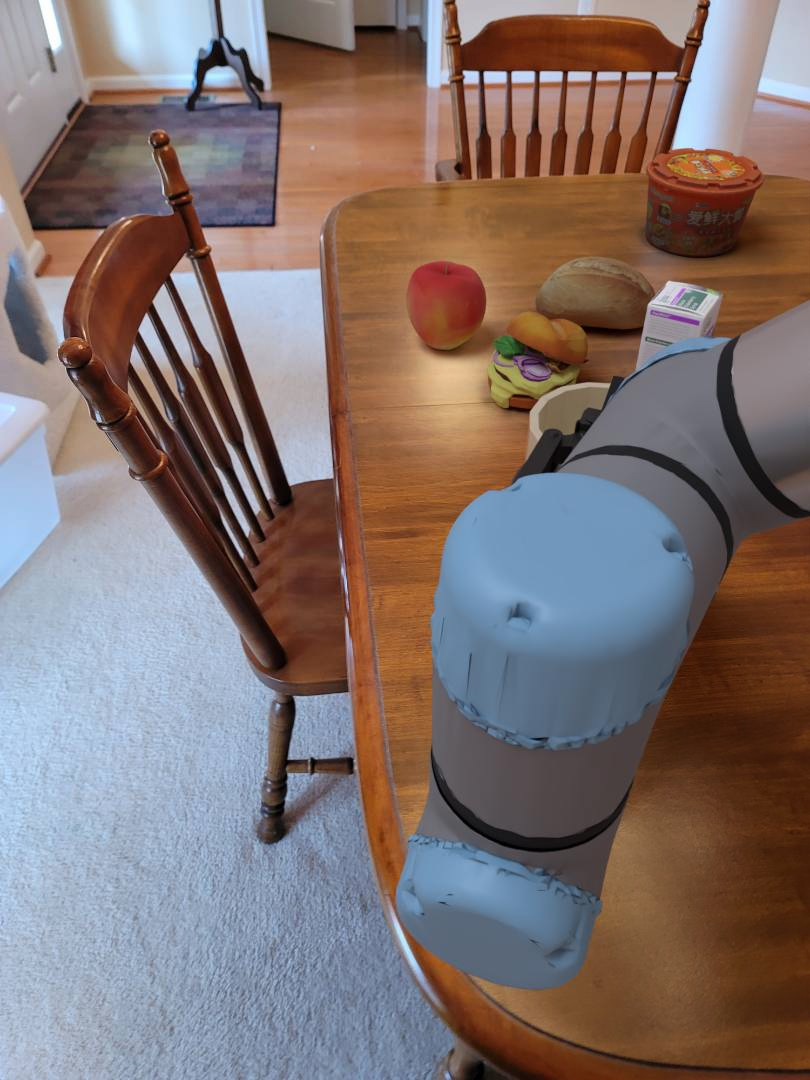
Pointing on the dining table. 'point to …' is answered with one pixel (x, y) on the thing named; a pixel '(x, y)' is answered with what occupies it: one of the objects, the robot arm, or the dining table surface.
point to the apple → (445, 303)
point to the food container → (699, 200)
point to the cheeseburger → (535, 359)
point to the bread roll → (596, 294)
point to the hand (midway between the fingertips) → (642, 398)
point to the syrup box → (678, 317)
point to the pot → (563, 410)
